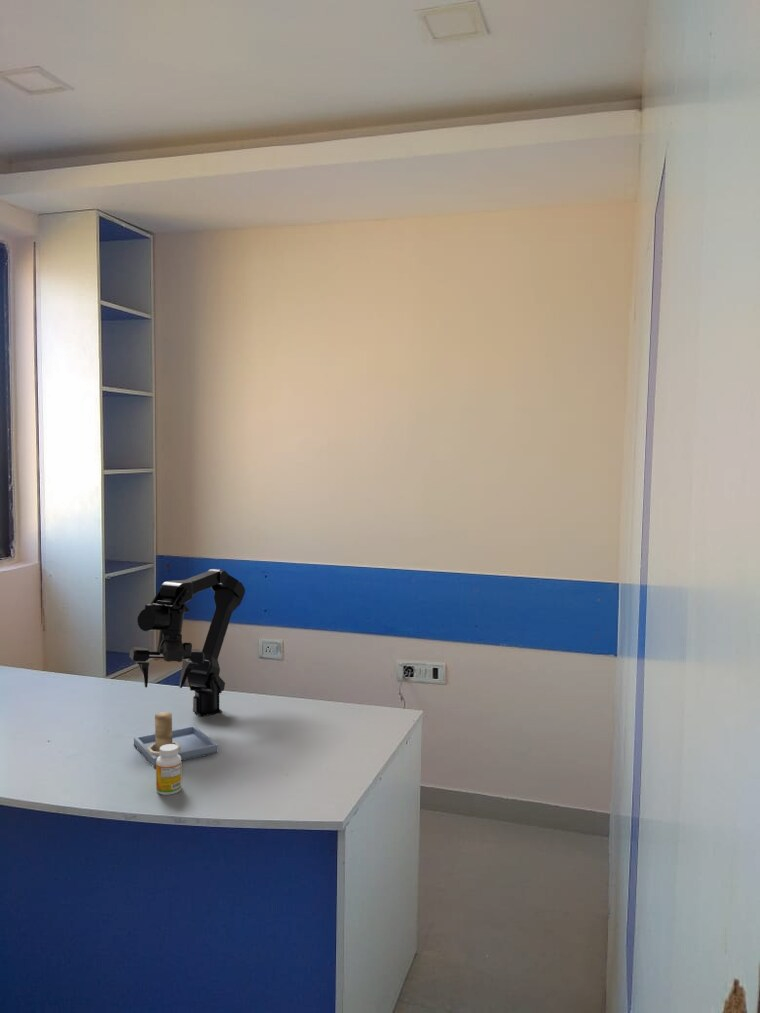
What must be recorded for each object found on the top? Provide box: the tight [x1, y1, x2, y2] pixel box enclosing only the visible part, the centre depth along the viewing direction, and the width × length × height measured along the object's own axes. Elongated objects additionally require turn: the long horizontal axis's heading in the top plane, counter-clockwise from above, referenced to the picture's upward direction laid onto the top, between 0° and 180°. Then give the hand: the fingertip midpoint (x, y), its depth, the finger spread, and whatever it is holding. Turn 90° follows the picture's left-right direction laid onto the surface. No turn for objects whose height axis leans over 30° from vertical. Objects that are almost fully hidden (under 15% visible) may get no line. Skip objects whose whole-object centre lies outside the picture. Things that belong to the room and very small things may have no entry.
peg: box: [154, 711, 173, 752], centre depth 186 cm, size 4×4×10 cm
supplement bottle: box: [155, 744, 183, 796], centre depth 168 cm, size 5×5×10 cm
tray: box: [133, 725, 219, 767], centre depth 191 cm, size 16×16×2 cm
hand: (163, 687), depth 202 cm, fingers open, 9 cm apart
